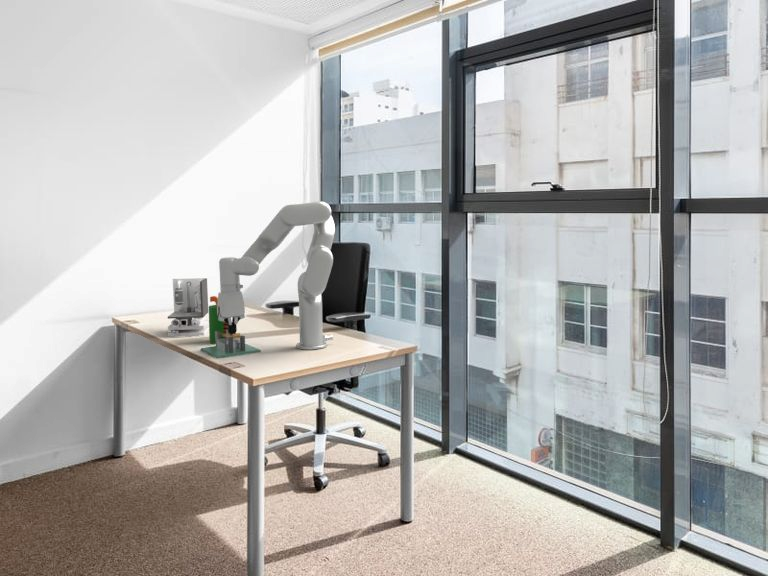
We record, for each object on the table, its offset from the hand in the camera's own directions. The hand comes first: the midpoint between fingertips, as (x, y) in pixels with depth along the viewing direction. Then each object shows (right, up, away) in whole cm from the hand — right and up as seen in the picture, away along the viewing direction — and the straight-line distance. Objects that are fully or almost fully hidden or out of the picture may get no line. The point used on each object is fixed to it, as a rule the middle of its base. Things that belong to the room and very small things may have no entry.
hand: (232, 334), depth 243 cm
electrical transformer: (-31, -3, +41) cm, 52 cm away
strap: (-1, -1, +2) cm, 3 cm away
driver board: (-1, -7, +2) cm, 8 cm away
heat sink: (-3, -6, +4) cm, 8 cm away
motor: (-11, -5, +22) cm, 25 cm away
